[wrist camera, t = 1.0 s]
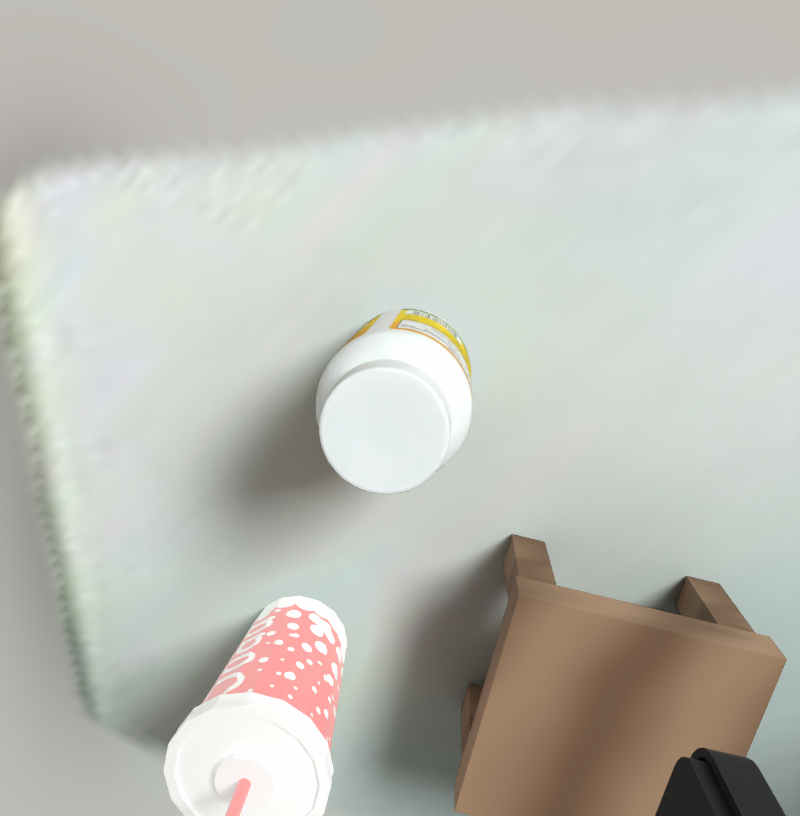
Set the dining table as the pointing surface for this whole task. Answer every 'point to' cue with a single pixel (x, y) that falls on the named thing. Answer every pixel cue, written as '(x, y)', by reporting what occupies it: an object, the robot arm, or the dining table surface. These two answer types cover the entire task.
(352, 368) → the supplement bottle
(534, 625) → the footstool
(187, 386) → the dining table surface
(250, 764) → the beverage cup
